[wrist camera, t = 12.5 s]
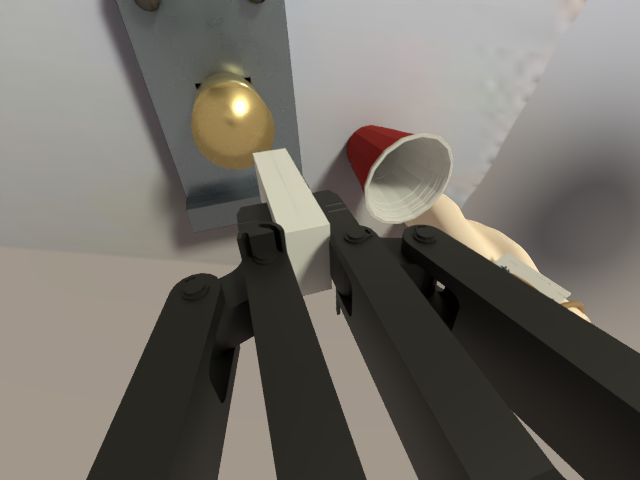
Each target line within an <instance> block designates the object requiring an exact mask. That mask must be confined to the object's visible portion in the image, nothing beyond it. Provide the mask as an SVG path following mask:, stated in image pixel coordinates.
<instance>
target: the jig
mask: <svg viewBox="0 0 640 480" xmlns="http://www.w3.org/2000/svg"><path fill="white" fill-rule="evenodd" d="M116 2H117V5H118V8H119V10H120V13H121V16H122V19H123V21H124V24H125V27H126V30H127V33H128V35H129V38H130V41H131V44H132V46H133V49H134V52H135V55H136V58H137V60H138V63H139V66H140V69H141V72H142V74H143V77H144V80H145V83H146V85H147V88H148V91H149V94H150V97H151V99H152V102H153V105H154V108H155V110H156V113H157V116H158V119H159V122H160V124H161V127H162V130H163V133H164V135H165V138H166V141H167V144H168V147H169V149H170V152H171V155H172V158H173V161H174V163H175V166H176V169H177V172H178V174H179V177H180V180H181V183H182V186H183V188H184V191H185V194H186V197H187V203H186V212H187V215H188V218H189V221H190V223H191V226H192V229H193V231H194V233H195V232H200V231H204V230H209V229H214V228H219V227H224V226H228V225H233V224H238V222H237V213H238V211H239V210H240V208H241V207H244V206H250V205H255V204H261V203H262V202H261V197H260V191H259V186H258V180H257V175H256V169H255V165H254V166H251V167H249V168H245V169H227V168H223V167H220V166H218V165H216V164H214V163H212V162H211V161H209V160H208V159H207V158H206V157H205V156H204V155H203V154H202V153H201V152H200V150H199V149H198V147H197V145H196V144H195V141H194V139H193V135H192V129H191V120H192V113H193V105H194V98H195V94H196V91H197V89H198V86H197V83H202V82H203V81H204V80H205V79H206V78H207V77H209V76H211V75H213V74H216V73H221V72H228V73H234V74H237V75H239V76H241V77H243V78H247V77H248V80H249V82H250V83H251V84H252V86H253V87H254V88H255V89H256V91H257V92H258V94H259V95H260V97H261V98H262V100H263V101H264V103H265V104H266V106H267V107H268V109H269V111H270V113H271V115H272V117H273V121H274V126H275V137H274V142H273V145H272V147H271V149H270V151H271V150H277V149H284V148H286V150H287V152H288V154H289V155H290V157H291V159H292V160H293V162H294V164H295V165H296V167H297V169H298V171H299V172H300V174H301V176H302V177H303V175H302V165H301V155H300V146H299V136H298V127H297V117H296V108H295V98H294V88H293V79H292V69H291V60H290V50H289V40H288V31H287V21H286V12H285V2H284V0H116ZM303 179H304V178H303ZM304 181H305V179H304ZM305 183H306V181H305ZM306 184H307V183H306ZM307 186H308V184H307ZM308 188H309V186H308Z"/></svg>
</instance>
